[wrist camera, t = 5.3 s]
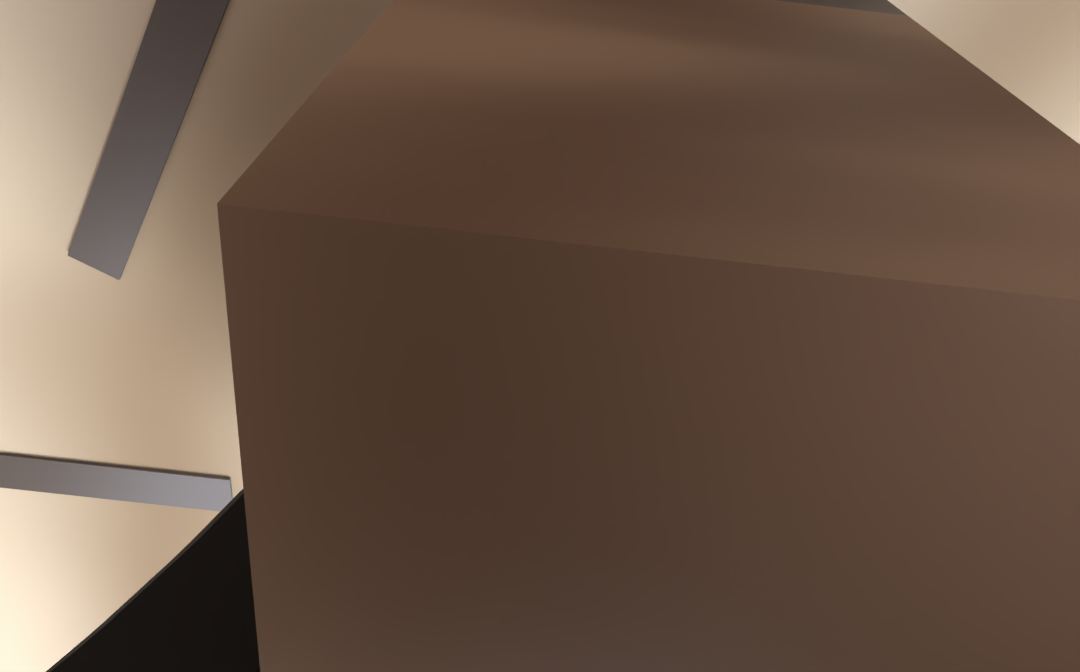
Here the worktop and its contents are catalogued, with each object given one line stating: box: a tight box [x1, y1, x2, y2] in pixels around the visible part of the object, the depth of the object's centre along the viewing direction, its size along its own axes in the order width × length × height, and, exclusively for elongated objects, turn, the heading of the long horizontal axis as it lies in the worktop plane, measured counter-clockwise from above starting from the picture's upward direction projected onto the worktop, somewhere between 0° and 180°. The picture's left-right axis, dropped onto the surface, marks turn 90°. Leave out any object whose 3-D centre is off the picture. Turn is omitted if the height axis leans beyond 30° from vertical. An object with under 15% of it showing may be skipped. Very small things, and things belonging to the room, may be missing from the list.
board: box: [0, 0, 1080, 672], centre depth 11 cm, size 16×18×1 cm
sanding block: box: [217, 0, 1080, 672], centre depth 8 cm, size 4×8×6 cm, turn 174°
